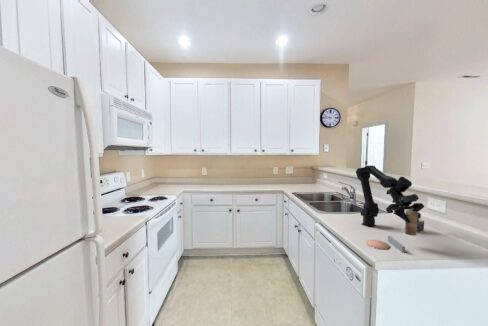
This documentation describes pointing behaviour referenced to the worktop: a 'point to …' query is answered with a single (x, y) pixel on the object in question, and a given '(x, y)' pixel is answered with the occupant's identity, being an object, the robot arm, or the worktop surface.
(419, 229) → the medicine bottle
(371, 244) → the resting pad
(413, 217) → the walnut cylinder
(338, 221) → the worktop surface
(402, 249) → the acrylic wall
